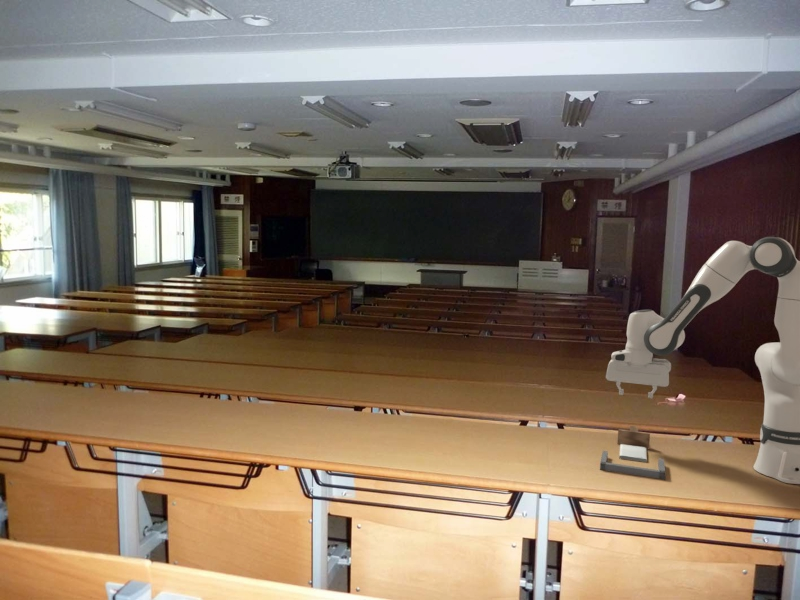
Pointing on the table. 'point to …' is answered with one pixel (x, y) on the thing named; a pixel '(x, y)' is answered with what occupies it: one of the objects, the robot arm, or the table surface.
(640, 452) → the hard drive
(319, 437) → the table surface
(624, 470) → the bay
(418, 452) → the table surface
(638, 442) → the pusher
